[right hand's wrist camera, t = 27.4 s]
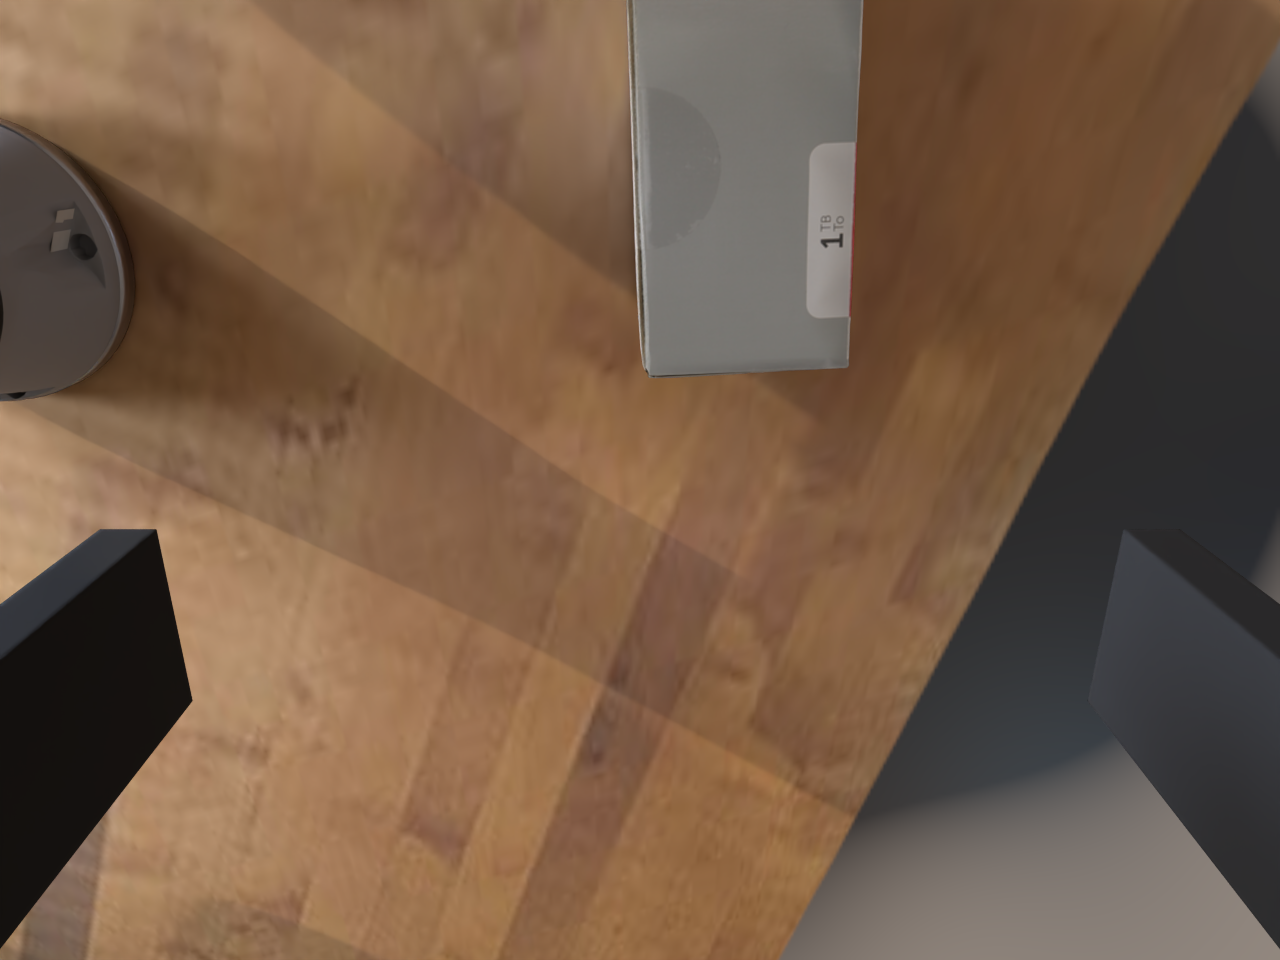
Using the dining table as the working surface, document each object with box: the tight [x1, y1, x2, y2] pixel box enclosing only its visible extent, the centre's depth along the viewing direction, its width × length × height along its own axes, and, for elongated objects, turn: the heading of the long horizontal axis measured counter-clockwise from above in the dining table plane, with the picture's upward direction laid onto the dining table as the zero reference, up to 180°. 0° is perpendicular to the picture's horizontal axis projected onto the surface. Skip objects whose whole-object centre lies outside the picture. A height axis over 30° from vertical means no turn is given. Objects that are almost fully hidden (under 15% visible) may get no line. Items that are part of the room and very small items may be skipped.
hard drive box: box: [627, 0, 863, 378], centre depth 39 cm, size 16×8×20 cm, turn 2°
